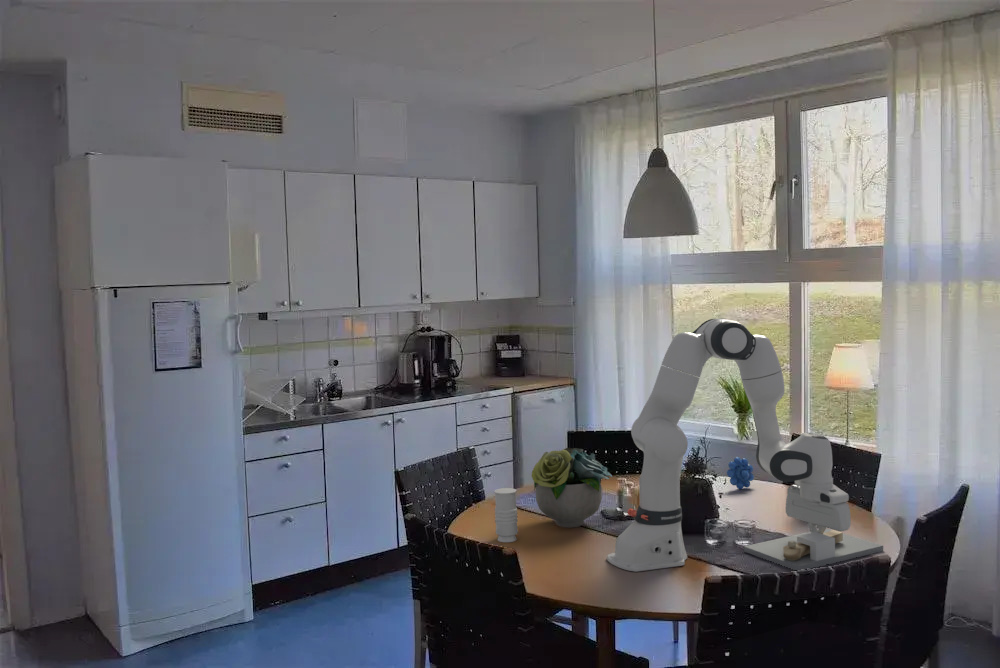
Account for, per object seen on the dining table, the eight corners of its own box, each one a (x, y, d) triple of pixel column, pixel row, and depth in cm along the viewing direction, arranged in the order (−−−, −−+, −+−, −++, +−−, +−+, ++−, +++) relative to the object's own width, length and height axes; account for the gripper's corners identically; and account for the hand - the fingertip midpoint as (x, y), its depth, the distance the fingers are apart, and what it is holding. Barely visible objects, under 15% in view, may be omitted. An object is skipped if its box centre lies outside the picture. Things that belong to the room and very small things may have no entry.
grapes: (735, 493, 302) (734, 460, 301) (723, 489, 308) (722, 457, 307) (761, 489, 306) (760, 456, 305) (749, 485, 312) (748, 453, 312)
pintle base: (798, 572, 220) (797, 547, 220) (744, 551, 238) (743, 528, 238) (883, 550, 235) (883, 527, 234) (826, 533, 252) (825, 511, 252)
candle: (506, 534, 262) (505, 486, 262) (523, 538, 257) (521, 490, 257) (490, 539, 258) (489, 491, 257) (507, 544, 253) (505, 494, 252)
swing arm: (794, 560, 223) (794, 551, 223) (780, 556, 226) (779, 547, 226) (845, 541, 237) (844, 532, 237) (830, 537, 241) (830, 529, 241)
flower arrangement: (565, 509, 288) (563, 438, 287) (624, 522, 271) (622, 447, 269) (514, 526, 271) (511, 450, 270) (573, 541, 253) (571, 460, 252)
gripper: (779, 485, 245) (781, 532, 246) (837, 499, 227) (838, 550, 228) (795, 482, 248) (796, 528, 249) (854, 496, 230) (854, 546, 231)
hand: (817, 539), depth 238 cm, fingers closed
